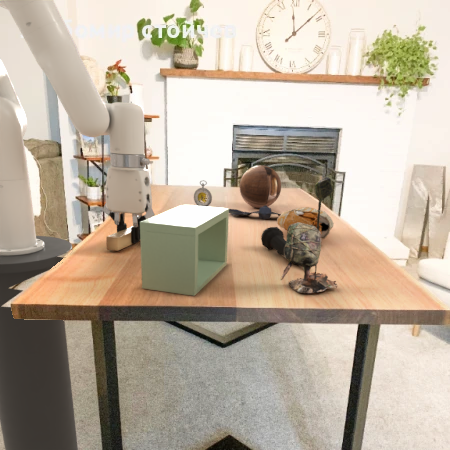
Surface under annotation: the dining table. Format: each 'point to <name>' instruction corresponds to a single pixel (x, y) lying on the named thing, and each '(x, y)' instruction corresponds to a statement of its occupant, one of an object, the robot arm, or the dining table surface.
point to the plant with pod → (308, 248)
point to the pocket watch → (202, 196)
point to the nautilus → (306, 219)
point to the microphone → (274, 240)
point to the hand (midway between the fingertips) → (129, 240)
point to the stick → (119, 240)
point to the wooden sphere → (260, 186)
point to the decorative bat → (263, 212)
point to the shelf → (183, 248)
